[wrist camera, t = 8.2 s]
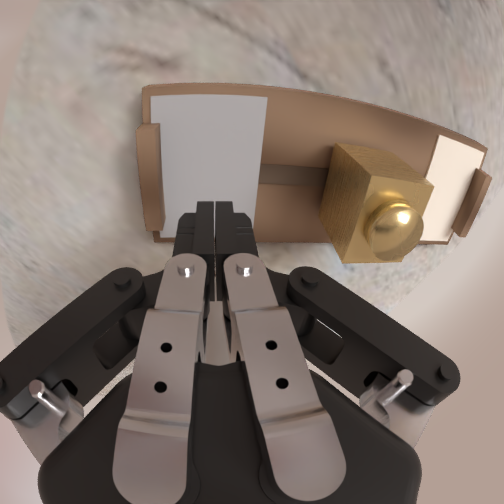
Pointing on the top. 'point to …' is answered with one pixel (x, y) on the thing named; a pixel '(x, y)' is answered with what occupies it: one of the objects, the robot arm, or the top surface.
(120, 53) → the top surface
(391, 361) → the robot arm
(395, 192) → the brass knob
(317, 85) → the top surface
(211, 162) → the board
